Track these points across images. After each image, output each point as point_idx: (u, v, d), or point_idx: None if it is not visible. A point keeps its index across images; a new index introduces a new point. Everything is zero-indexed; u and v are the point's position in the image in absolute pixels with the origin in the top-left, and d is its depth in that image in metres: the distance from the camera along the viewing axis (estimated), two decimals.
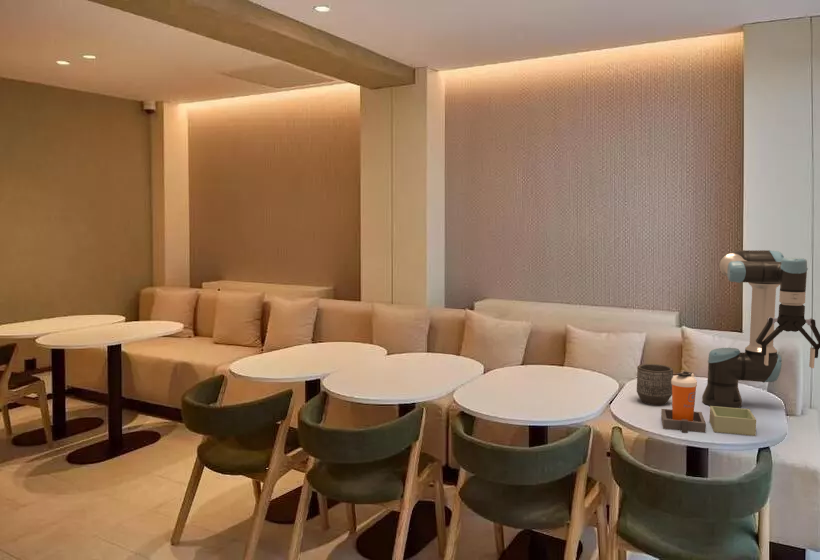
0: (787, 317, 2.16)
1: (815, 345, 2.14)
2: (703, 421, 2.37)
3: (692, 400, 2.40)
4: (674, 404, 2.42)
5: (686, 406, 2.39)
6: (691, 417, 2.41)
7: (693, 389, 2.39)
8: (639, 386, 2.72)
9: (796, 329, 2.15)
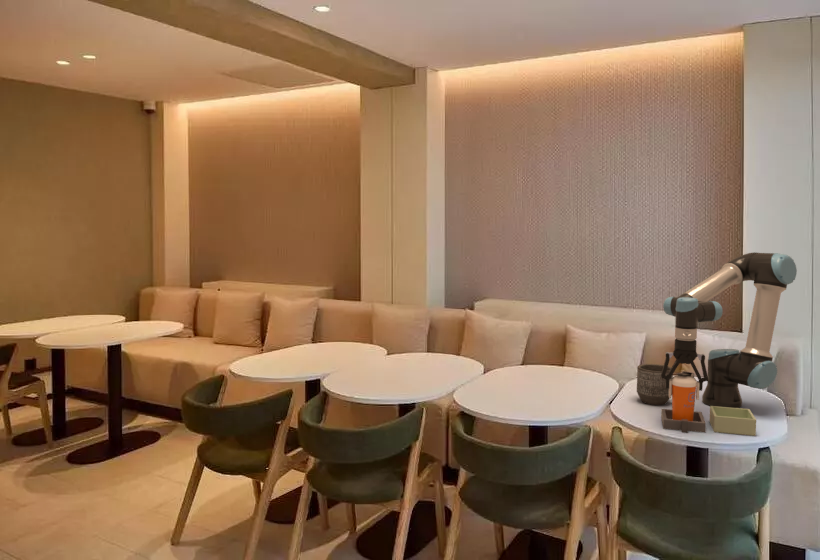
0: (681, 351, 2.41)
1: (700, 379, 2.39)
2: (703, 421, 2.37)
3: (692, 400, 2.40)
4: (674, 404, 2.42)
5: (686, 406, 2.39)
6: (691, 417, 2.41)
7: (693, 389, 2.39)
8: (639, 386, 2.72)
9: (689, 362, 2.40)
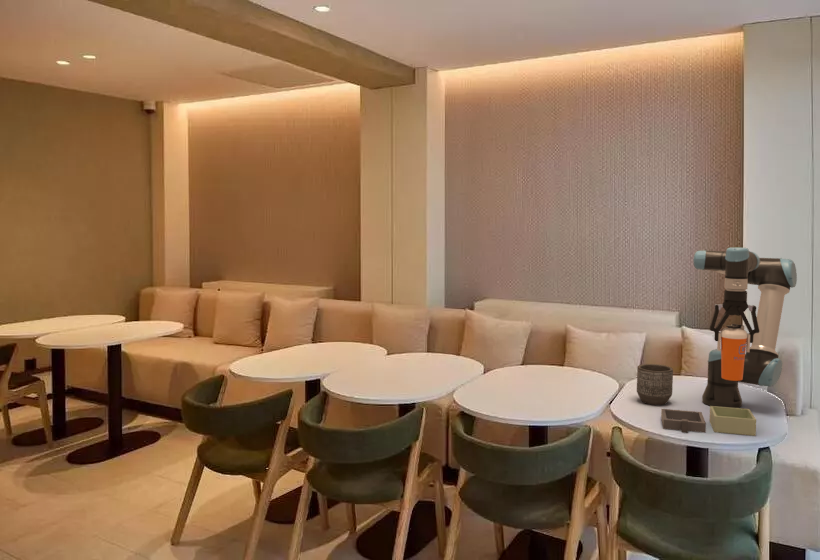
0: (731, 302, 2.35)
1: (751, 331, 2.33)
2: (703, 421, 2.37)
3: (742, 352, 2.33)
4: (723, 357, 2.36)
5: (736, 358, 2.33)
6: (741, 370, 2.34)
7: (744, 341, 2.33)
8: (639, 386, 2.72)
9: (739, 313, 2.34)
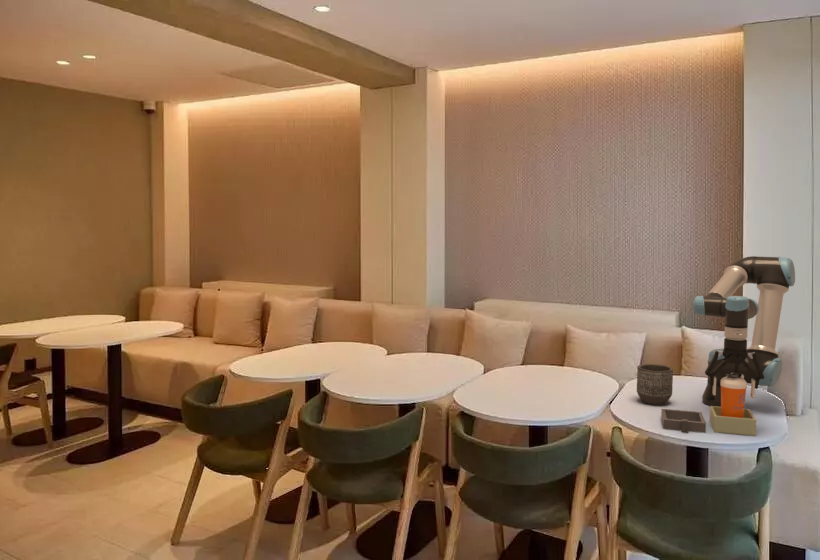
0: (731, 350, 2.36)
1: (755, 377, 2.34)
2: (703, 421, 2.37)
3: (742, 402, 2.35)
4: (723, 406, 2.38)
5: (736, 408, 2.35)
6: None
7: (743, 391, 2.35)
8: (639, 386, 2.72)
9: (739, 361, 2.36)
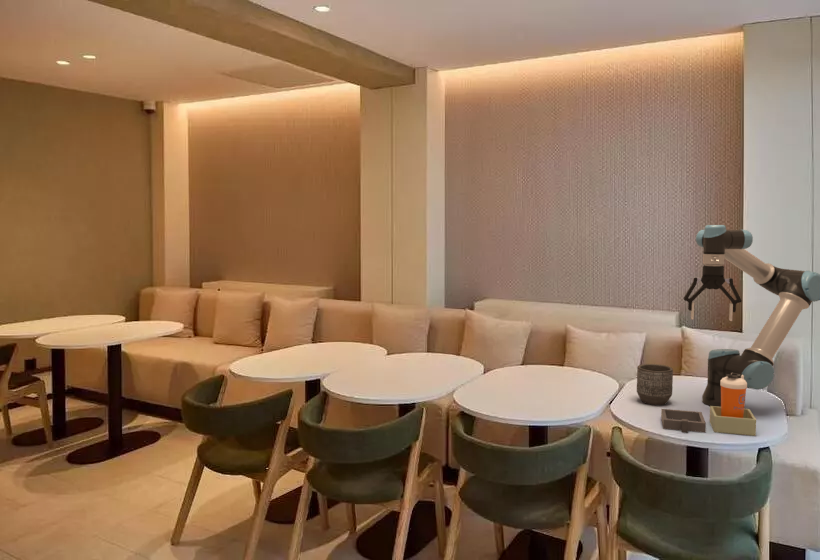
0: (709, 276, 2.47)
1: (733, 301, 2.45)
2: (703, 421, 2.37)
3: (742, 402, 2.35)
4: (723, 406, 2.38)
5: (736, 408, 2.35)
6: None
7: (743, 391, 2.35)
8: (639, 386, 2.72)
9: (717, 287, 2.47)
